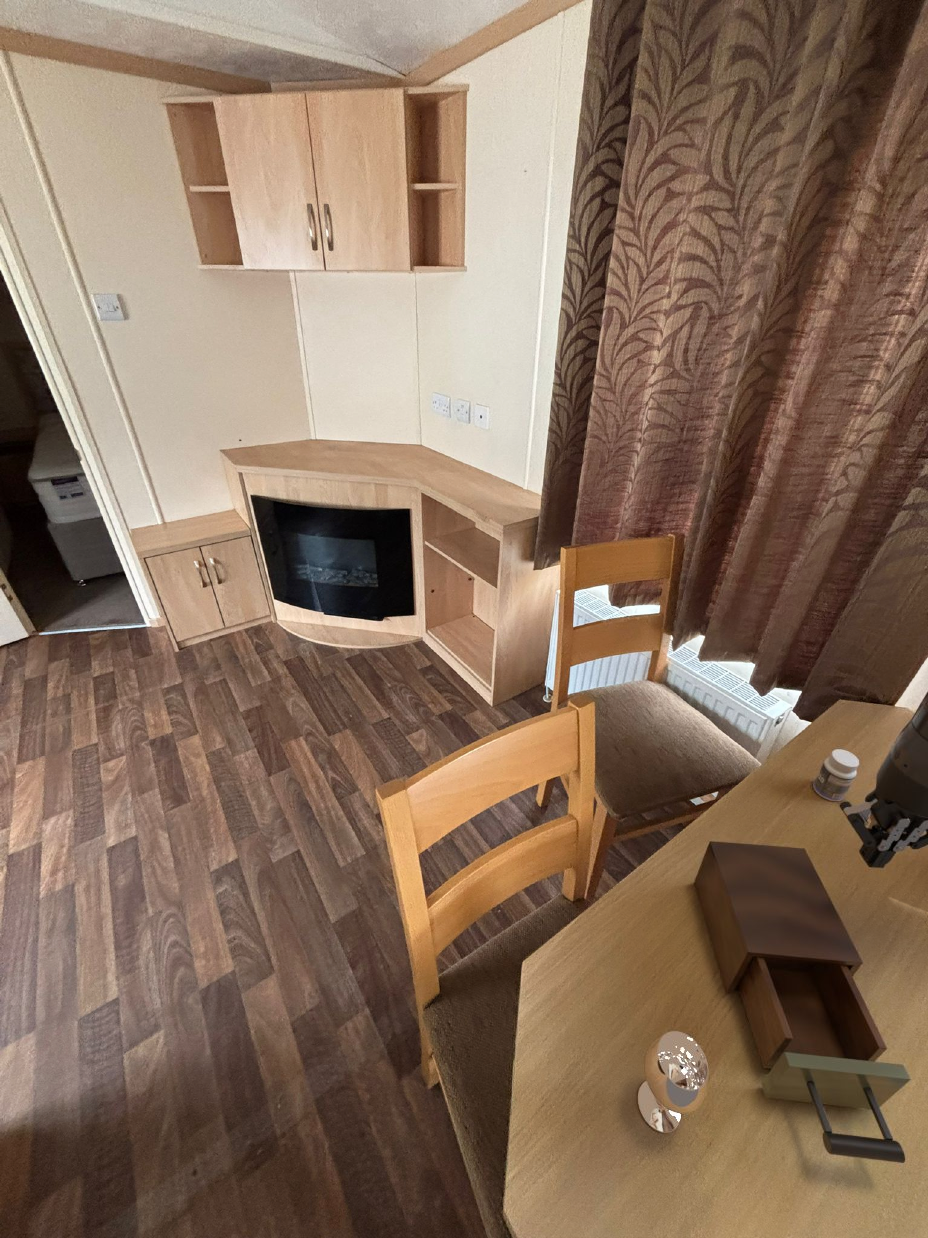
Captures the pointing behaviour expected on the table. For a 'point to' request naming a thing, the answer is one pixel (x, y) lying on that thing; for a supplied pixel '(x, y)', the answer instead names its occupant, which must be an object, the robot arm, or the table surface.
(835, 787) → the pill bottle
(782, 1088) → the drawer
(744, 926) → the cabinet
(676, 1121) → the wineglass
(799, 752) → the table surface
